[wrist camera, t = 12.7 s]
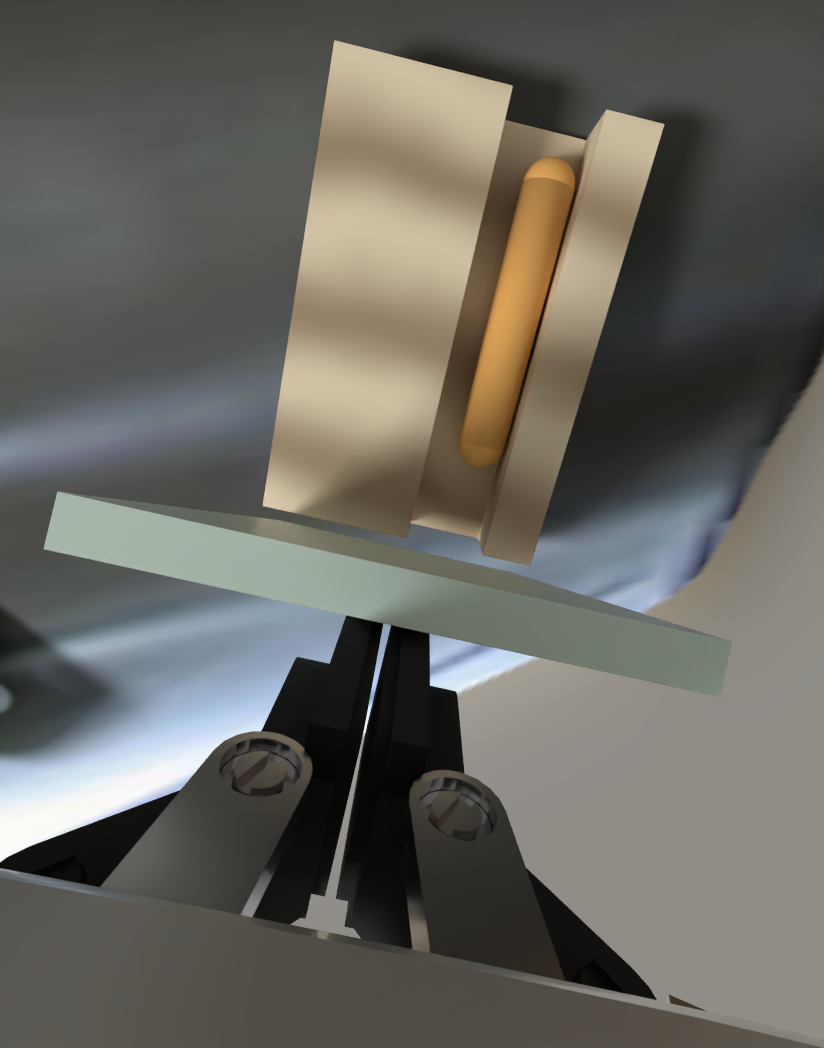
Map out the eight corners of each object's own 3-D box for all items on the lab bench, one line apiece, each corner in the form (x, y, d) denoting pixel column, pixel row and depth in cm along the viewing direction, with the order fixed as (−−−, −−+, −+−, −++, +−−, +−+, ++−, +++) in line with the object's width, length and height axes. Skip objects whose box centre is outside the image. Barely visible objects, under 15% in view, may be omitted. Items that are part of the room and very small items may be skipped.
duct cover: (57, 491, 9) (43, 548, 9) (731, 641, 9) (720, 697, 9) (279, 520, 27) (274, 539, 27) (509, 571, 27) (505, 590, 27)
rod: (527, 164, 26) (530, 142, 23) (577, 174, 25) (585, 152, 23) (455, 458, 29) (451, 464, 27) (498, 468, 29) (498, 475, 27)
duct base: (347, 85, 25) (334, 40, 22) (633, 157, 26) (664, 124, 22) (281, 491, 30) (262, 505, 27) (519, 545, 31) (530, 565, 28)
